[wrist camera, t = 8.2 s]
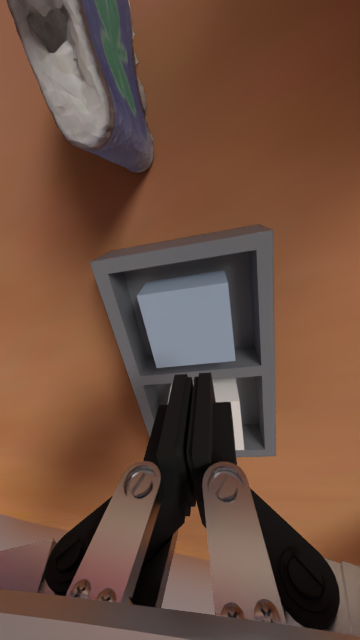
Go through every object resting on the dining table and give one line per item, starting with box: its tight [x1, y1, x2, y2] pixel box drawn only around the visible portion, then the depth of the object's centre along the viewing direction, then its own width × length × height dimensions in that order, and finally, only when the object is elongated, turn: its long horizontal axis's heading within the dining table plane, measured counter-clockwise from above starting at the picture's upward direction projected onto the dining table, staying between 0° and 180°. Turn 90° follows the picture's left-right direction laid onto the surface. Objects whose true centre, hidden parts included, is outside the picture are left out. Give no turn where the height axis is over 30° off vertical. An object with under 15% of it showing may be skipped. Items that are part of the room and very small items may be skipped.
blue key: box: [137, 270, 236, 368], centre depth 18 cm, size 6×6×3 cm
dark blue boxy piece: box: [7, 0, 154, 173], centre depth 11 cm, size 9×3×11 cm, turn 8°
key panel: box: [90, 224, 276, 457], centre depth 22 cm, size 12×21×4 cm, turn 10°
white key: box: [168, 378, 244, 450], centre depth 22 cm, size 6×6×3 cm
